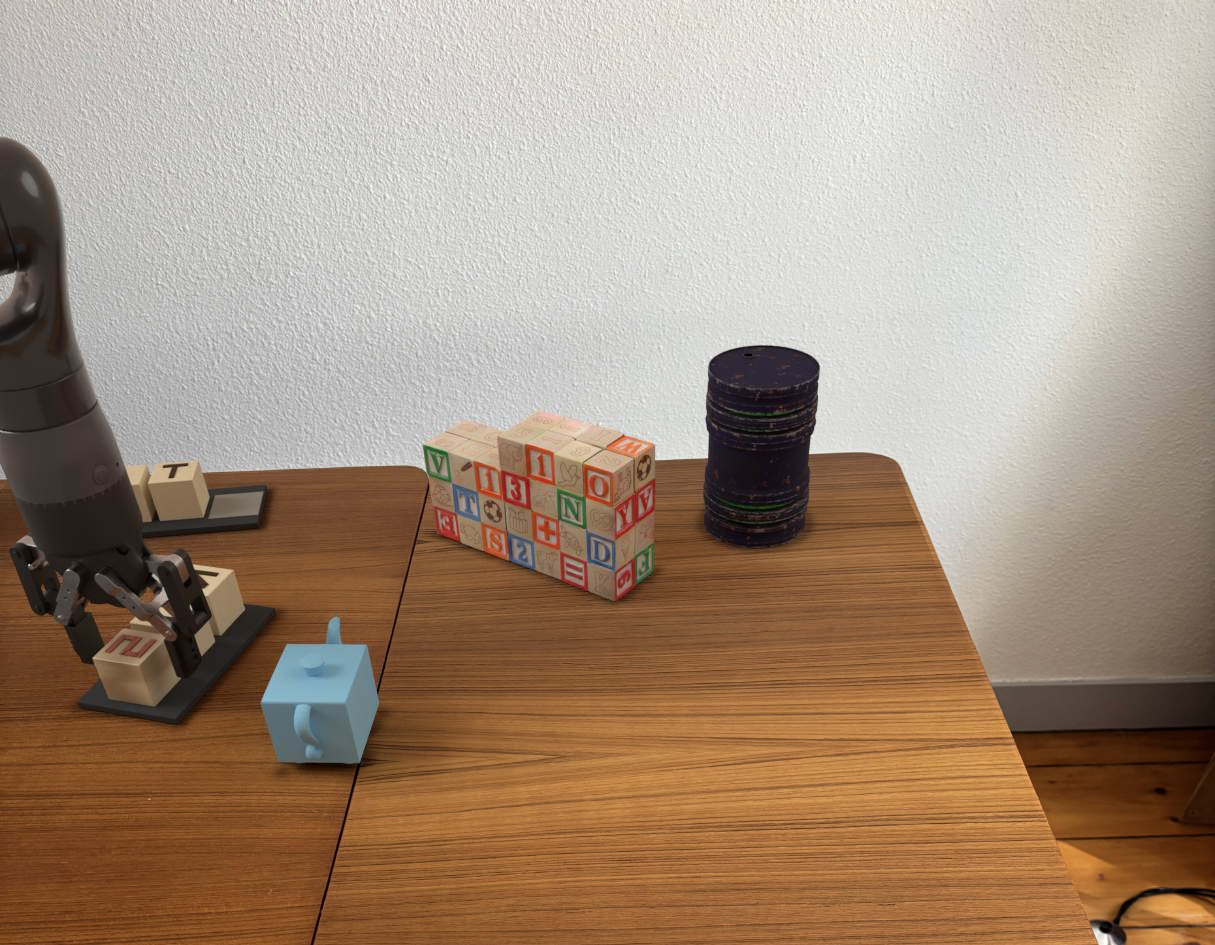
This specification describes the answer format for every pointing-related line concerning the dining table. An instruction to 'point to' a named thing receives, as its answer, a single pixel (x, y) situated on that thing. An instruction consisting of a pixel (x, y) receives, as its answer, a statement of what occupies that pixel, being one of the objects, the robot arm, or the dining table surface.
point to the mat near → (216, 644)
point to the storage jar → (759, 444)
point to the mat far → (191, 501)
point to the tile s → (136, 668)
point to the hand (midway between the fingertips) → (141, 665)
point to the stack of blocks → (549, 498)
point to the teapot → (321, 701)
